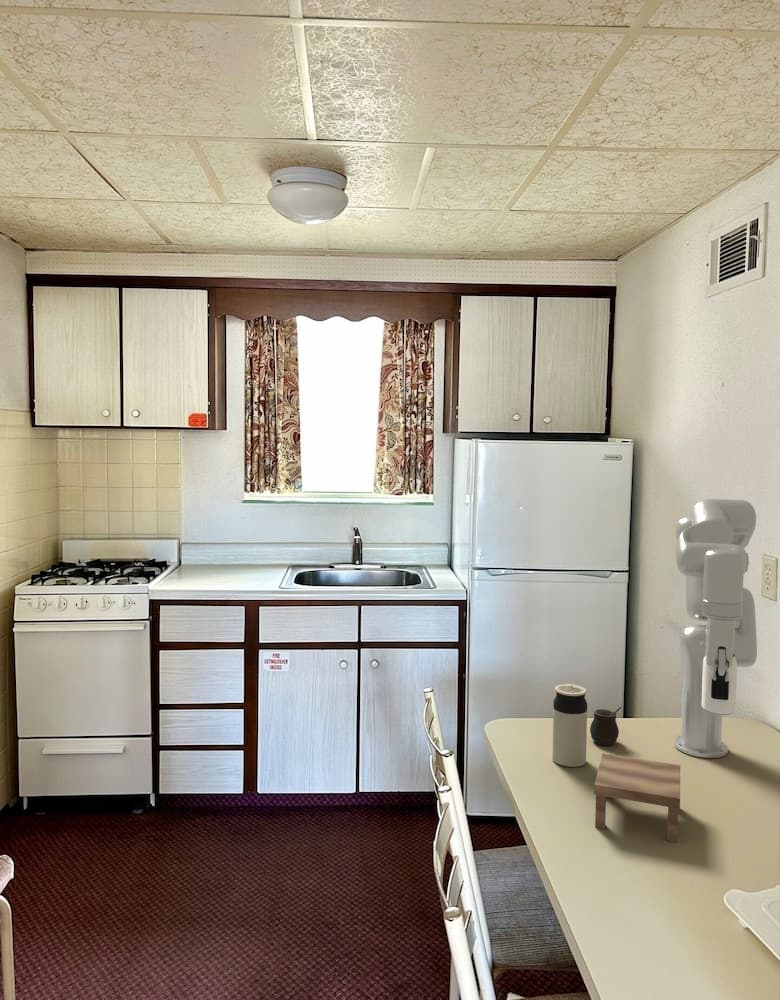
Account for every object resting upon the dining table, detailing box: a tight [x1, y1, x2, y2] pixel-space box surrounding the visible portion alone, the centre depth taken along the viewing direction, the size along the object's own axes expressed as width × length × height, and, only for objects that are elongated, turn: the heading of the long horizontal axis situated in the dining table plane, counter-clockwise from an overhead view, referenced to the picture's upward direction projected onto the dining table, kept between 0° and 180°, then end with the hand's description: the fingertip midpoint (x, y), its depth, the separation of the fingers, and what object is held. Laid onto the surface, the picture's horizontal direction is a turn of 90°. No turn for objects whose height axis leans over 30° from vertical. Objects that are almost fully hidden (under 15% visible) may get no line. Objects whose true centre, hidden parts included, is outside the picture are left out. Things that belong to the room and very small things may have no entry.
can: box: [702, 654, 738, 716], centre depth 154 cm, size 6×6×12 cm
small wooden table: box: [593, 753, 681, 843], centre depth 153 cm, size 16×16×9 cm
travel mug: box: [551, 683, 588, 768], centre depth 179 cm, size 8×8×18 cm
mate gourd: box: [589, 706, 622, 746], centre depth 191 cm, size 7×8×10 cm
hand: (718, 692), depth 154 cm, fingers closed on can, 6 cm apart
